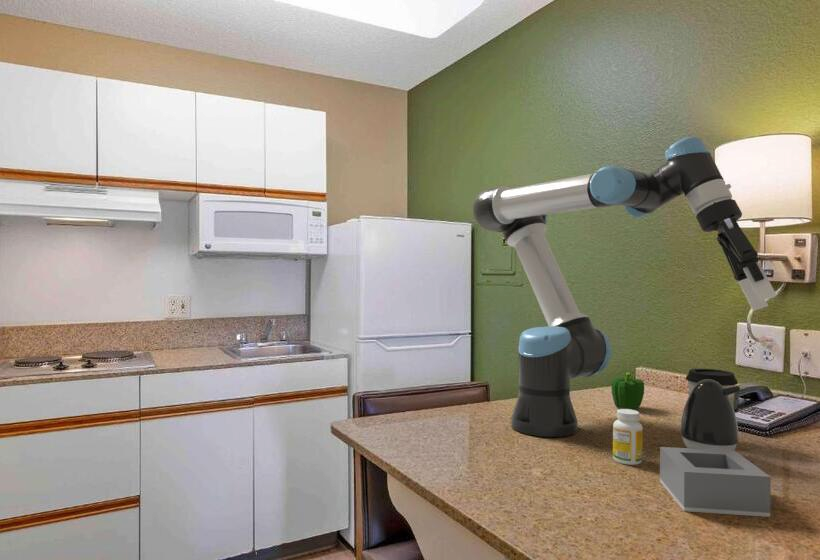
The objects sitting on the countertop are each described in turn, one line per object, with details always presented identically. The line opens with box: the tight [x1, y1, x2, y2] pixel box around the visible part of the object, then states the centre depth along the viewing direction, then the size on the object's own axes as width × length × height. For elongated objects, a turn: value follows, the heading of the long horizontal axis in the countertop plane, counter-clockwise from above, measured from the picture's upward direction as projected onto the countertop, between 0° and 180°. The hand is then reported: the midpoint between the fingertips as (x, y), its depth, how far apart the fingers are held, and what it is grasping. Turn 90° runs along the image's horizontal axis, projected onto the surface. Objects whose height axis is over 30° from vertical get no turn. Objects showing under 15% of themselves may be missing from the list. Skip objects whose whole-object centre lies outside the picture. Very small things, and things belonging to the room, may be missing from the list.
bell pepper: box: [611, 372, 645, 411], centre depth 144 cm, size 8×8×10 cm
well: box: [659, 446, 772, 518], centre depth 86 cm, size 12×12×6 cm
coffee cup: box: [685, 368, 739, 407], centre depth 116 cm, size 10×10×15 cm
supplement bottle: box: [612, 408, 644, 466], centre depth 103 cm, size 5×5×10 cm
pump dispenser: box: [679, 379, 741, 451], centre depth 106 cm, size 10×10×15 cm
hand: (764, 304), depth 101 cm, fingers open, 13 cm apart
